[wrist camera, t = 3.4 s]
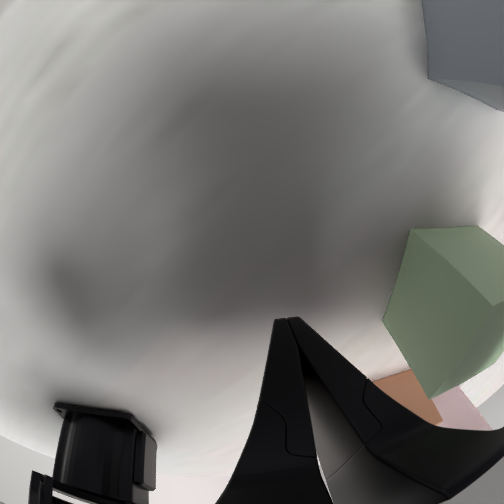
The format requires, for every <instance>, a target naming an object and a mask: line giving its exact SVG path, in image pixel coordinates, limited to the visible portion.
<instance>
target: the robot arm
mask: <svg viewBox="0 0 504 504" xmlns="http://www.w3.org/2000/svg"><path fill="white" fill-rule="evenodd" d="M53 409H54V410H55V411H56V412H57V413H58V414H59V415H60V416H61V417H62V418H63V419H64V420H63V424H62V429H61V433H60V437H59V442H58V447H57V452H56V458H55V464H54V470H53V477H50V476H48V475H42V474H40V473H38V472H35V471H32V474H31V481H30V488H29V500H28V502H29V503H28V504H73V503H70V502H67V501H65V500H62V499H59V498H57V497H54V496H52V491H56V492H58V493H61V494H64V495H66V496H69V497H71V498H74V499H77V500H80V501H83V502H86V503H89V504H149V496H148V495H149V491H154V490H155V489H156V488H155V487H156V450H157V444H156V443H155V442H154V441H153V440H152V438H151V437H150V436H149V435H148V434H147V433H146V432H145V431H144V429H143V428H142V427H141V426H140V425H139V423H138V422H137V421H136V420H135V419H134V417H133V416H132V415H130V414H128V413H123V412H113V411H104V410H96V409H89V408H82V407H76V406H71V405H65V404H60V403H54V407H53ZM316 452H317V453H316ZM317 455H318V458H319V461H320V464H321V467H322V470H323V473H324V476H325V478H326V482H327V485H328V488H329V491H330V494H331V497H332V499H331V497H330V495H329V493H328V490H327V488H326V486H325V484H324V481H323V479H322V476H321V473H320V470H319V465H318V460H317ZM332 500H333V502H332ZM333 503H334V504H504V427H503V428H501V429H497V430H488V431H487V430H467V429H455V428H445V427H440V426H436V425H433V424H431V423H429V422H427V421H426V420H424V419H422V418H421V417H419V416H418V415H416V414H415V413H413V412H412V411H410V410H409V409H407V408H406V407H404V406H403V405H401V404H400V403H398V402H397V401H396V400H394V399H393V398H391V397H390V396H389V395H387V394H386V393H385V392H384V391H382V390H381V389H380V388H379V387H377V386H376V385H375V384H374V383H373V382H372V381H371V380H369V379H367V377H366V376H365V375H364V374H362V373H361V372H360V371H359V370H358V369H357V368H356V367H355V366H353V365H352V364H351V363H350V362H349V361H348V360H347V359H346V358H344V357H343V356H342V355H341V354H340V353H339V352H338V351H337V350H336V349H334V348H333V347H332V346H331V345H330V344H329V343H328V342H327V341H326V340H324V339H323V338H322V337H321V336H320V335H319V334H318V333H317V332H316V331H314V330H313V329H312V328H311V327H310V326H309V325H308V324H307V323H306V322H305V321H303V320H302V319H301V318H300V317H298V316H296V317H289V318H287V319H286V318H280V319H275V320H274V323H273V328H272V334H271V339H270V345H269V350H268V356H267V361H266V366H265V371H264V376H263V381H262V386H261V391H260V396H259V401H258V405H257V410H256V414H255V418H254V422H253V425H252V428H251V431H250V434H249V437H248V439H247V442H246V444H245V447H244V449H243V451H242V454H241V456H240V458H239V461H238V463H237V465H236V468H235V470H234V472H233V474H232V477H231V479H230V481H229V483H228V484H227V486H226V488H225V490H224V492H223V493H222V494H221V496H220V497H219V499H218V500H217V502H216V503H215V504H333ZM0 504H4V503H2V502H0Z"/></svg>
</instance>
